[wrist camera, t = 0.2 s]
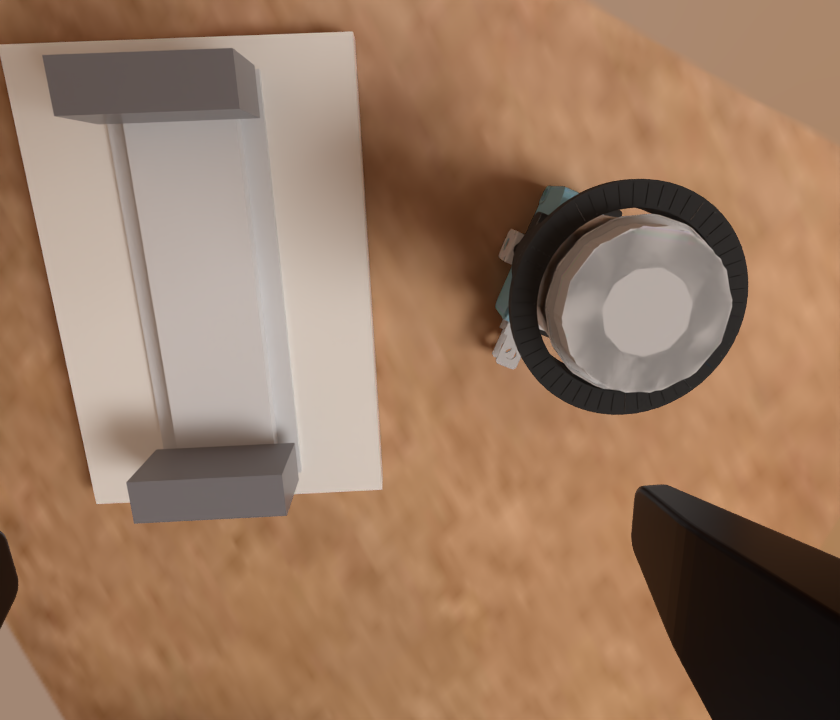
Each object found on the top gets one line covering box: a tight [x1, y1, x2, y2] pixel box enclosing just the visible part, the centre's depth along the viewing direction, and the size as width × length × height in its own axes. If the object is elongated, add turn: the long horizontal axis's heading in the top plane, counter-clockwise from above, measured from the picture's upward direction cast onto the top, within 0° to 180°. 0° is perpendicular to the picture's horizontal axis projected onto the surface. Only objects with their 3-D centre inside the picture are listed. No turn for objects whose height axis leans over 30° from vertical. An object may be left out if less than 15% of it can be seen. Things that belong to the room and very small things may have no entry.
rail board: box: [0, 32, 383, 524], centre depth 20 cm, size 16×11×4 cm
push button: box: [492, 179, 748, 415], centre depth 18 cm, size 7×5×10 cm
